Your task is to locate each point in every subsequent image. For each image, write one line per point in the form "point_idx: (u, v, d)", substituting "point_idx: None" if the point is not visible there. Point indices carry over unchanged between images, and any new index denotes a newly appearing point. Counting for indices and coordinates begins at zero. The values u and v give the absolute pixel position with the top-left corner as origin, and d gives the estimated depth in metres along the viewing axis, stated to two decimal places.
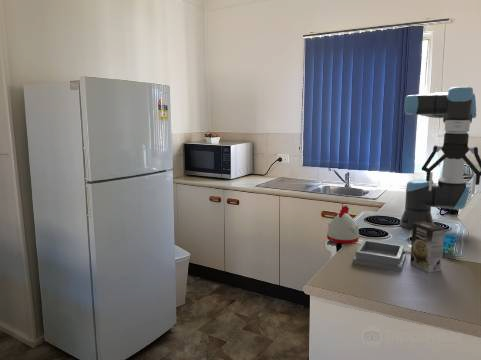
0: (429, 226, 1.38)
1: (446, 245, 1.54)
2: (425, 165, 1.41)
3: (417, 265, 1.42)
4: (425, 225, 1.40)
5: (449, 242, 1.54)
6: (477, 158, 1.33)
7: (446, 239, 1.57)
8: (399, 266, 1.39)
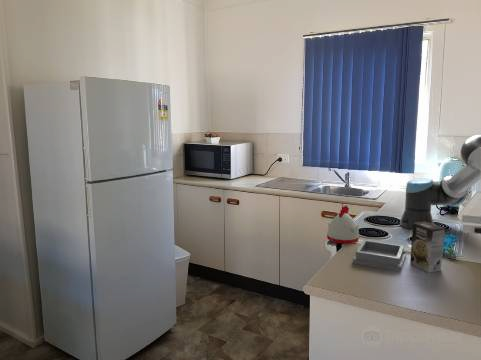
0: (429, 226, 1.38)
1: (446, 245, 1.54)
2: None
3: (417, 265, 1.42)
4: (425, 225, 1.40)
5: (449, 242, 1.54)
6: None
7: (447, 239, 1.57)
8: (399, 266, 1.39)
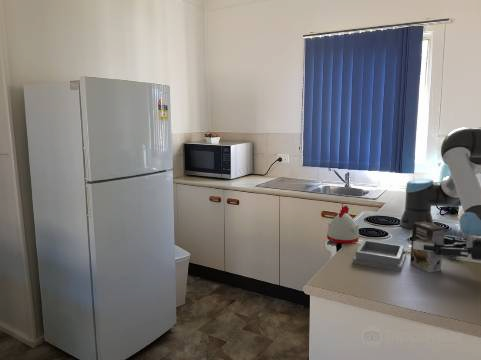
0: (429, 226, 1.38)
1: None
2: None
3: (417, 265, 1.42)
4: (425, 225, 1.40)
5: None
6: None
7: None
8: (399, 266, 1.39)
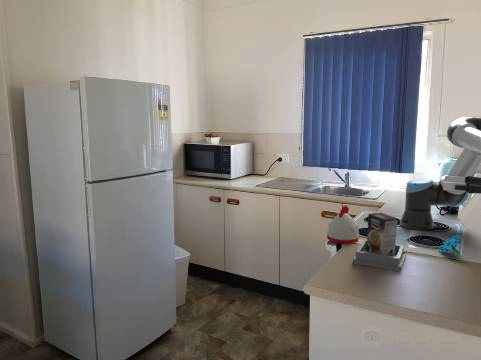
0: (382, 217, 1.46)
1: (449, 245, 1.53)
2: None
3: None
4: (379, 216, 1.47)
5: (453, 243, 1.53)
6: None
7: (452, 240, 1.56)
8: (399, 266, 1.39)
